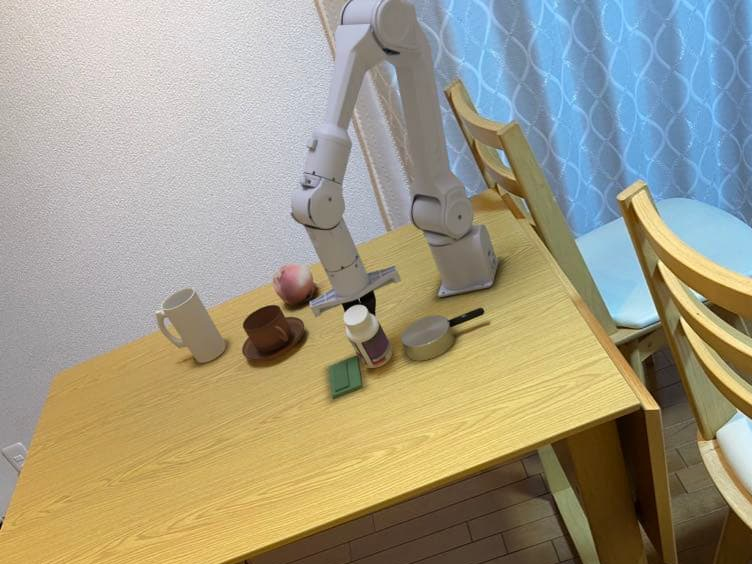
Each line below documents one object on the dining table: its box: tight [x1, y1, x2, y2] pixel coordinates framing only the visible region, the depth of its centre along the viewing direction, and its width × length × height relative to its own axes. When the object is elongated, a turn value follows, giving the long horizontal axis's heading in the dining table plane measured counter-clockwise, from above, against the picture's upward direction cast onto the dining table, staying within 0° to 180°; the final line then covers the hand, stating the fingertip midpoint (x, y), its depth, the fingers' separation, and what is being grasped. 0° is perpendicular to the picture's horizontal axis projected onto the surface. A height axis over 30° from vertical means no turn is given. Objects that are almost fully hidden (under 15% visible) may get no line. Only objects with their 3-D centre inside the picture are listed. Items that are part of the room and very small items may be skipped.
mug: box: [154, 286, 227, 364], centre depth 157 cm, size 10×7×12 cm, turn 84°
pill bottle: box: [343, 305, 393, 369], centre depth 133 cm, size 5×5×10 cm
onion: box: [272, 263, 318, 306], centre depth 160 cm, size 8×8×7 cm
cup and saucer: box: [241, 304, 305, 362], centre depth 151 cm, size 12×12×6 cm
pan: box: [400, 307, 485, 362], centre depth 134 cm, size 14×8×3 cm, turn 97°
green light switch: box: [328, 354, 363, 400], centre depth 137 cm, size 5×9×1 cm, turn 7°
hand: (374, 335), depth 138 cm, fingers closed, pressing on pill bottle
